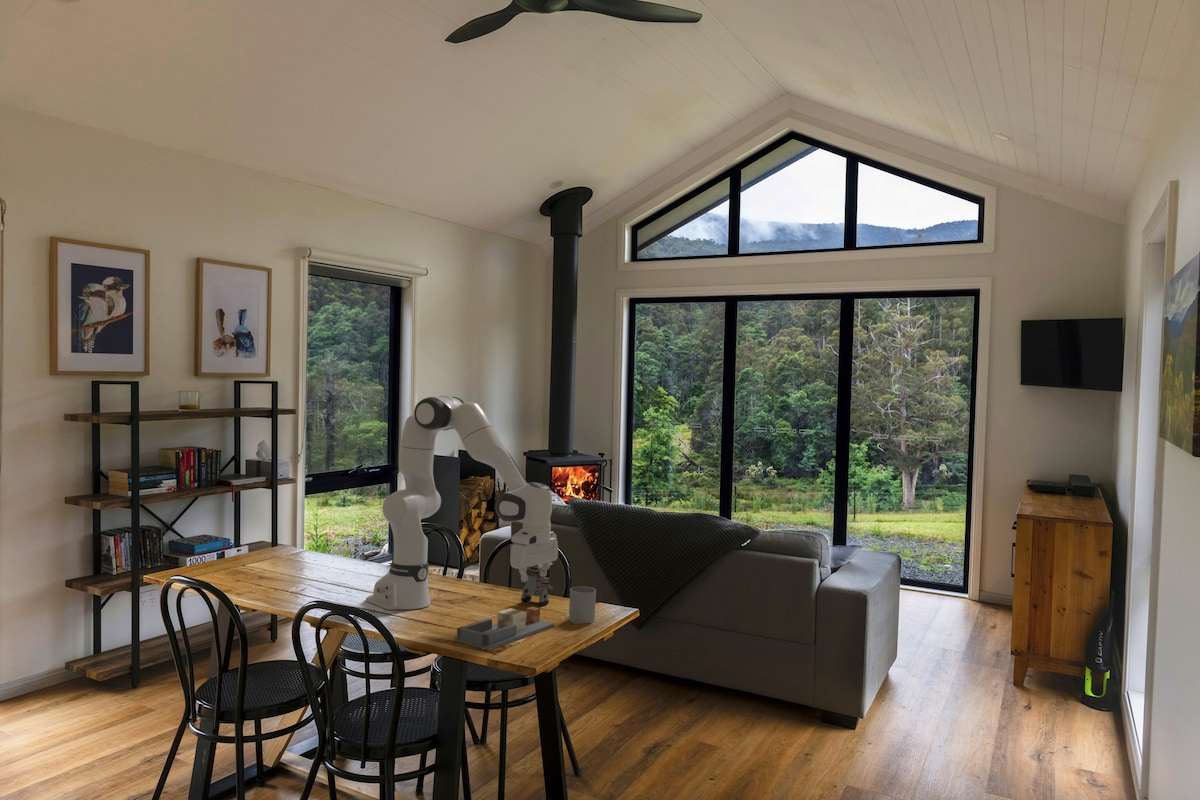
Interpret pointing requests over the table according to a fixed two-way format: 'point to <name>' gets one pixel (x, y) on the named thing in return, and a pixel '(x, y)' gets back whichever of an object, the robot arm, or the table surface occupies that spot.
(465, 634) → the grey slider tray
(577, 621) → the cup
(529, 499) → the robot arm
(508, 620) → the block
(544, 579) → the figurine
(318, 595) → the table surface
